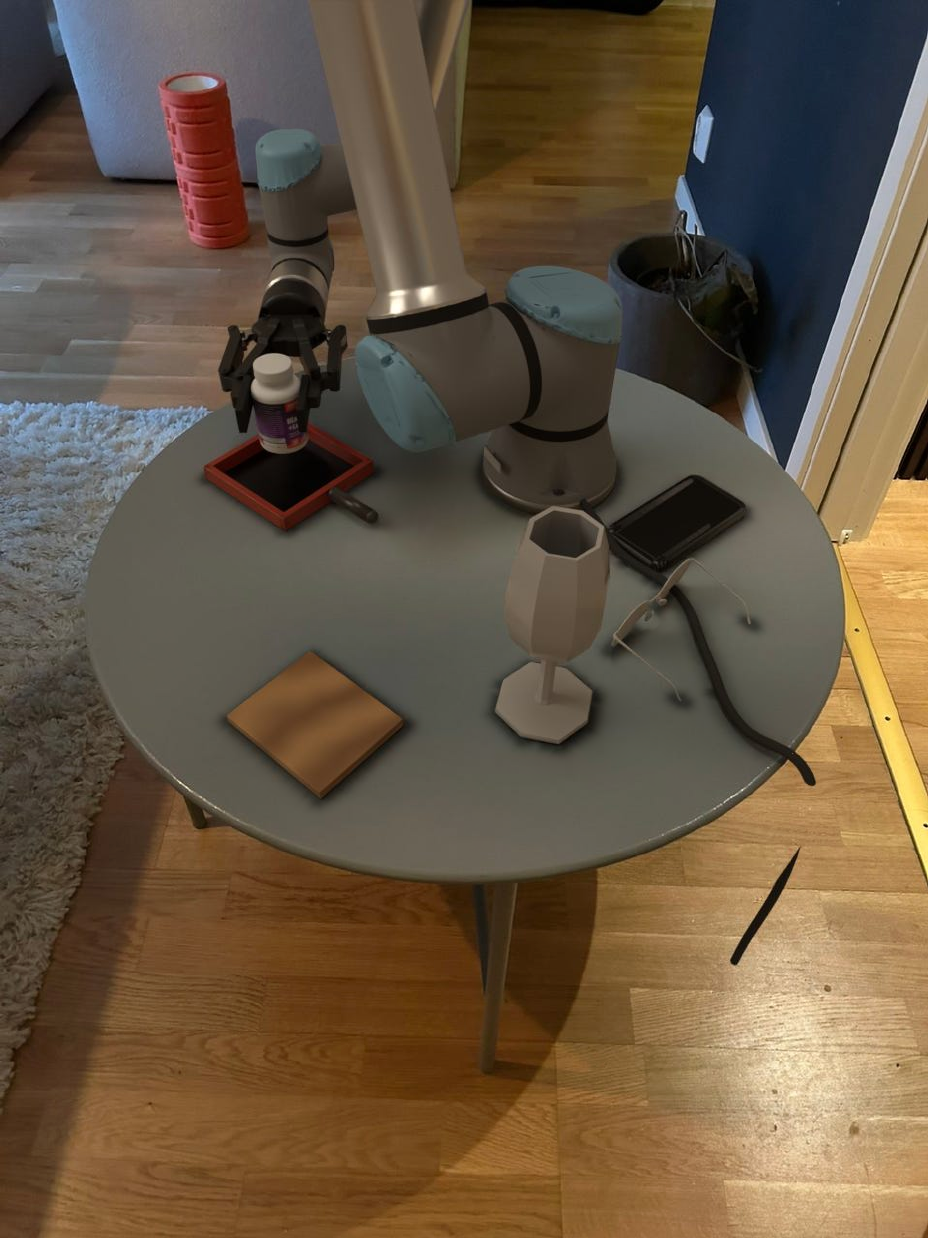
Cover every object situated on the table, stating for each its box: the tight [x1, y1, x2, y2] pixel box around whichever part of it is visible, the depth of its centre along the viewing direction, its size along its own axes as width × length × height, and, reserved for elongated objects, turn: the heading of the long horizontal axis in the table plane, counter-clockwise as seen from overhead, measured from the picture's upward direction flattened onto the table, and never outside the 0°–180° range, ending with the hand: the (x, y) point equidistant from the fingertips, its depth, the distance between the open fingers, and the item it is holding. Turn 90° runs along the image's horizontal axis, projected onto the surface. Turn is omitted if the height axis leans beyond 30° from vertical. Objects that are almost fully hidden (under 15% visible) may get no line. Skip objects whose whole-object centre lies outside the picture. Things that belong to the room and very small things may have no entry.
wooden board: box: [226, 650, 404, 799], centre depth 80 cm, size 12×10×1 cm
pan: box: [202, 422, 380, 532], centre depth 102 cm, size 21×14×2 cm, turn 49°
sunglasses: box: [611, 557, 752, 702], centre depth 86 cm, size 14×8×5 cm, turn 139°
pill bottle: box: [251, 353, 308, 454], centre depth 97 cm, size 5×5×10 cm
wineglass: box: [494, 506, 611, 745], centre depth 74 cm, size 9×9×21 cm
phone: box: [607, 474, 746, 573], centre depth 98 cm, size 8×1×15 cm
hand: (271, 421), depth 92 cm, fingers closed on pill bottle, 5 cm apart
